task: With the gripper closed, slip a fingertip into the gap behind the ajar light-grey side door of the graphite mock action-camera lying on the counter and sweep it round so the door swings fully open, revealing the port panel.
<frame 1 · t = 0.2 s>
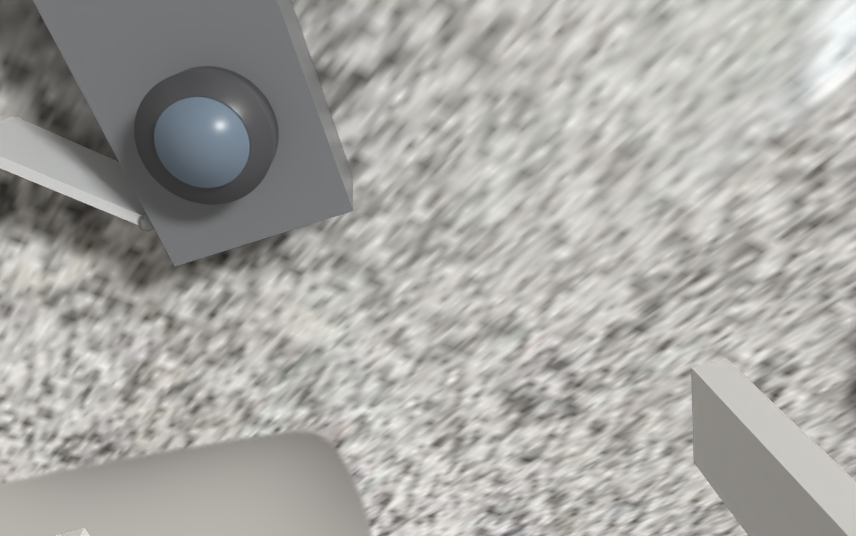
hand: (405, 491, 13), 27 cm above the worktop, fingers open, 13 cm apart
camera body: (218, 55, 34), on the worktop
side door: (81, 171, 32), point 3 cm above the worktop, hinge at 45.0°
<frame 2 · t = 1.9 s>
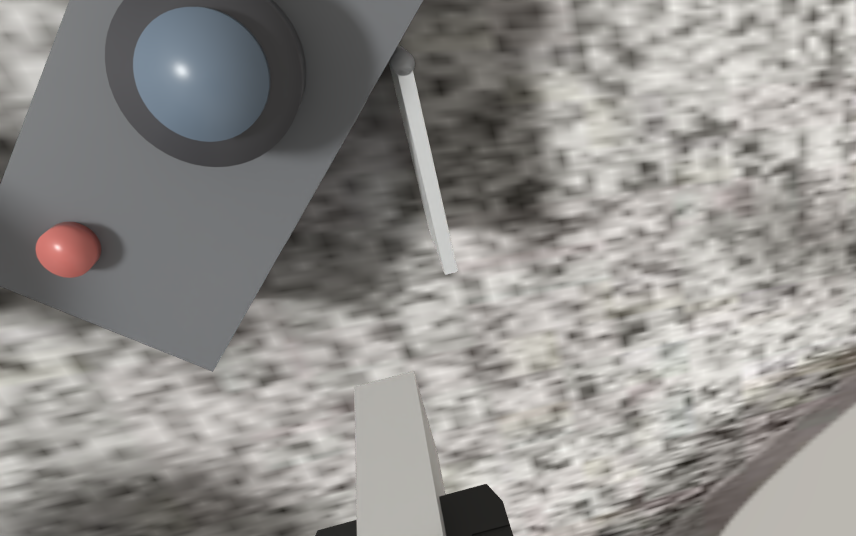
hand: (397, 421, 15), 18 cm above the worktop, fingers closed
camera body: (222, 108, 28), on the worktop
side door: (420, 155, 27), point 3 cm above the worktop, hinge at 45.0°
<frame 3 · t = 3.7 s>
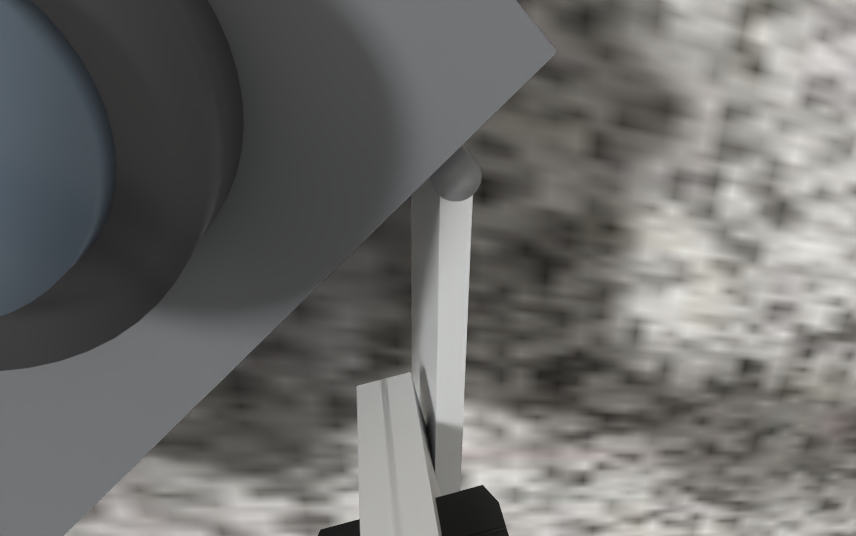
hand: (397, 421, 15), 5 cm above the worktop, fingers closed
camera body: (94, 140, 15), on the worktop
side door: (433, 314, 15), point 3 cm above the worktop, hinge at 45.5°, touching gripper
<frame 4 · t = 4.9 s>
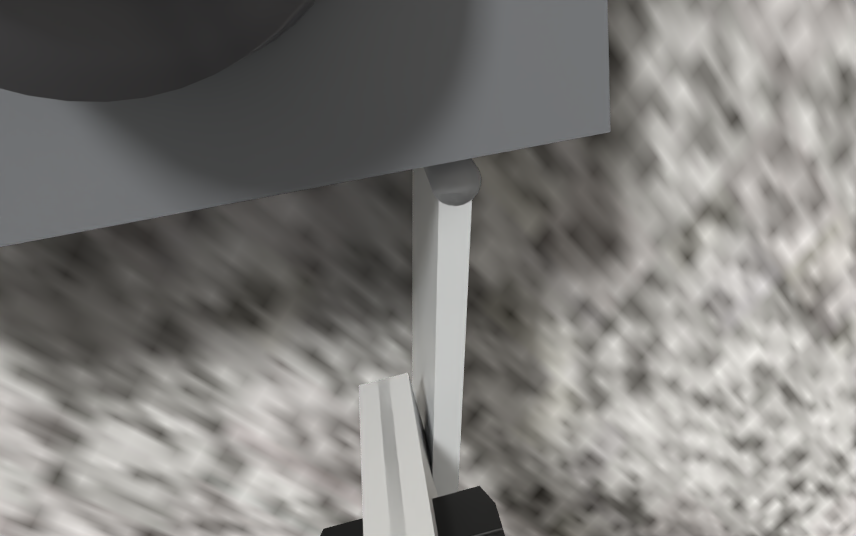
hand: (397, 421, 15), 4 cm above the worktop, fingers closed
side door: (433, 318, 15), point 3 cm above the worktop, hinge at 80.1°, touching gripper
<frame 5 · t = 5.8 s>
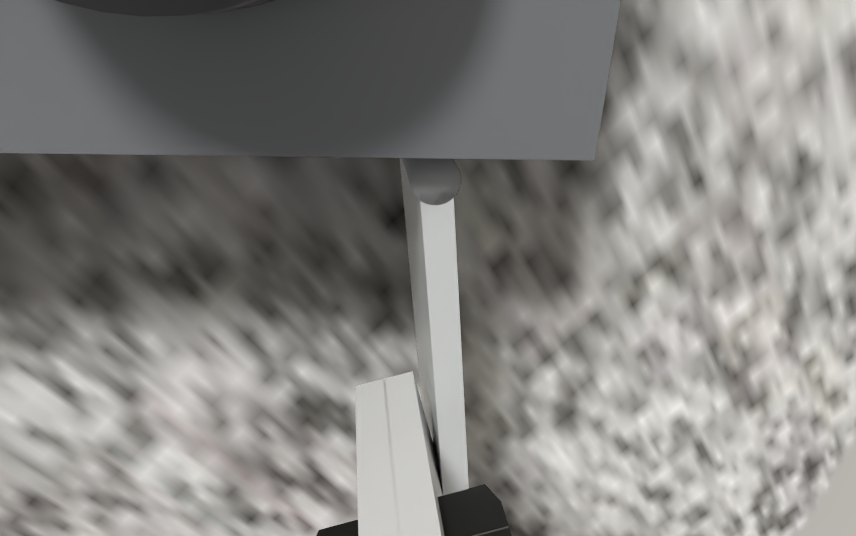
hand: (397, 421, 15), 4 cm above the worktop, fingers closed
side door: (432, 317, 15), point 3 cm above the worktop, hinge at 96.4°, touching gripper
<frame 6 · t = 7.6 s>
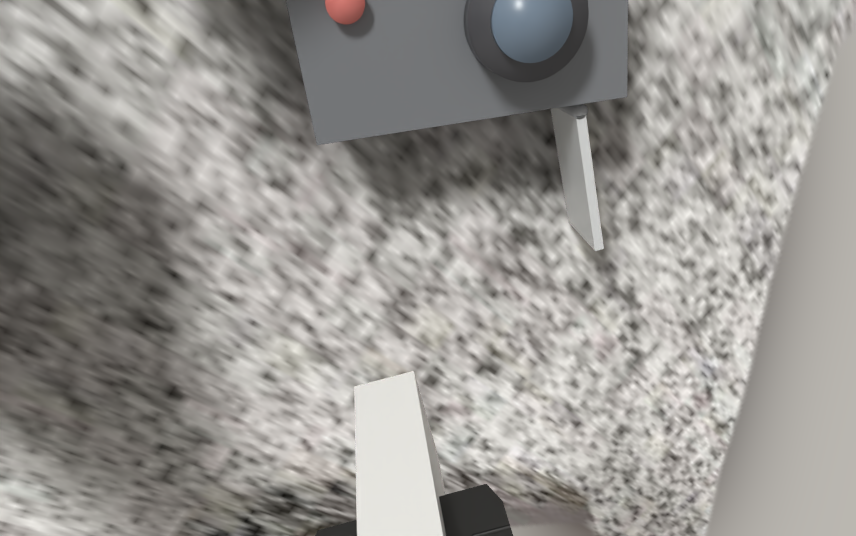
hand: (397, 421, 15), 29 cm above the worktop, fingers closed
camera body: (447, 23, 38), on the worktop
side door: (575, 169, 39), point 3 cm above the worktop, hinge at 96.5°
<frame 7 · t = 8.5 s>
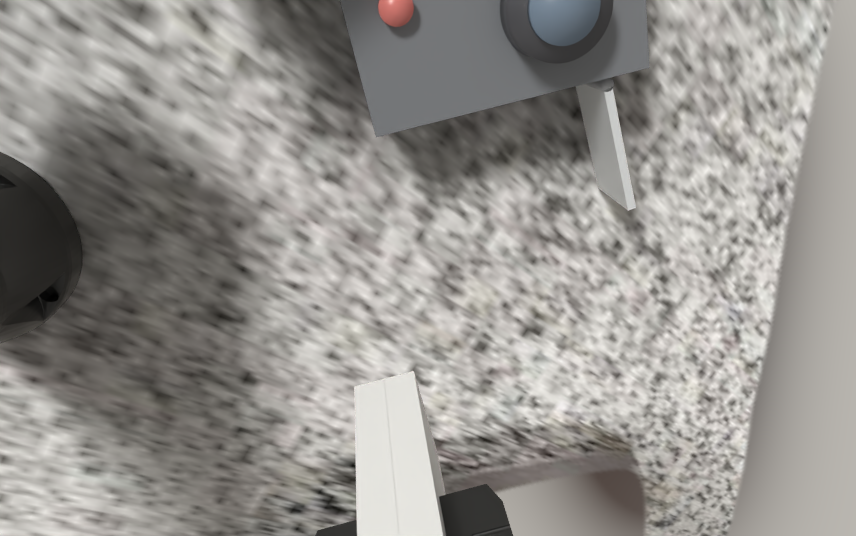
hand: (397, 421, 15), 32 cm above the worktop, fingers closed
camera body: (477, 15, 41), on the worktop
side door: (603, 138, 43), point 3 cm above the worktop, hinge at 96.5°
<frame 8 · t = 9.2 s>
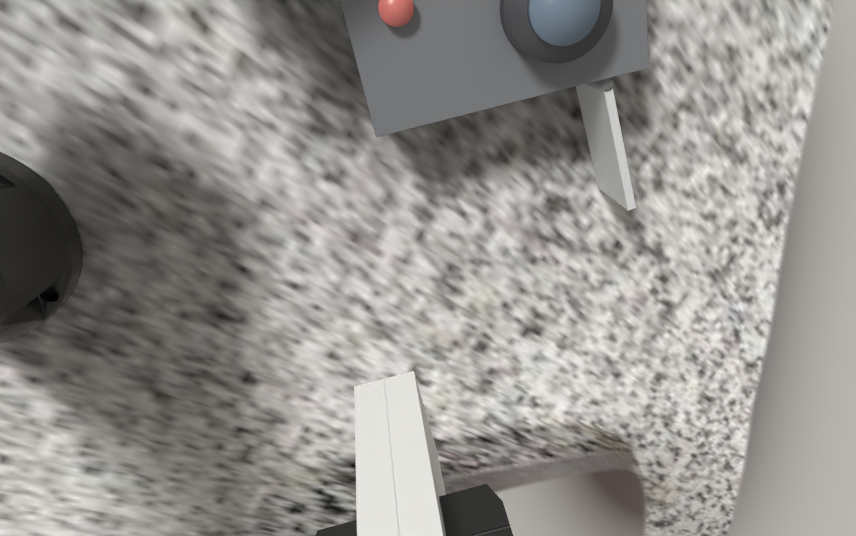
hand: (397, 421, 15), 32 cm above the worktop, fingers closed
camera body: (477, 15, 41), on the worktop
side door: (603, 138, 43), point 3 cm above the worktop, hinge at 96.5°
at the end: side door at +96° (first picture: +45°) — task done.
